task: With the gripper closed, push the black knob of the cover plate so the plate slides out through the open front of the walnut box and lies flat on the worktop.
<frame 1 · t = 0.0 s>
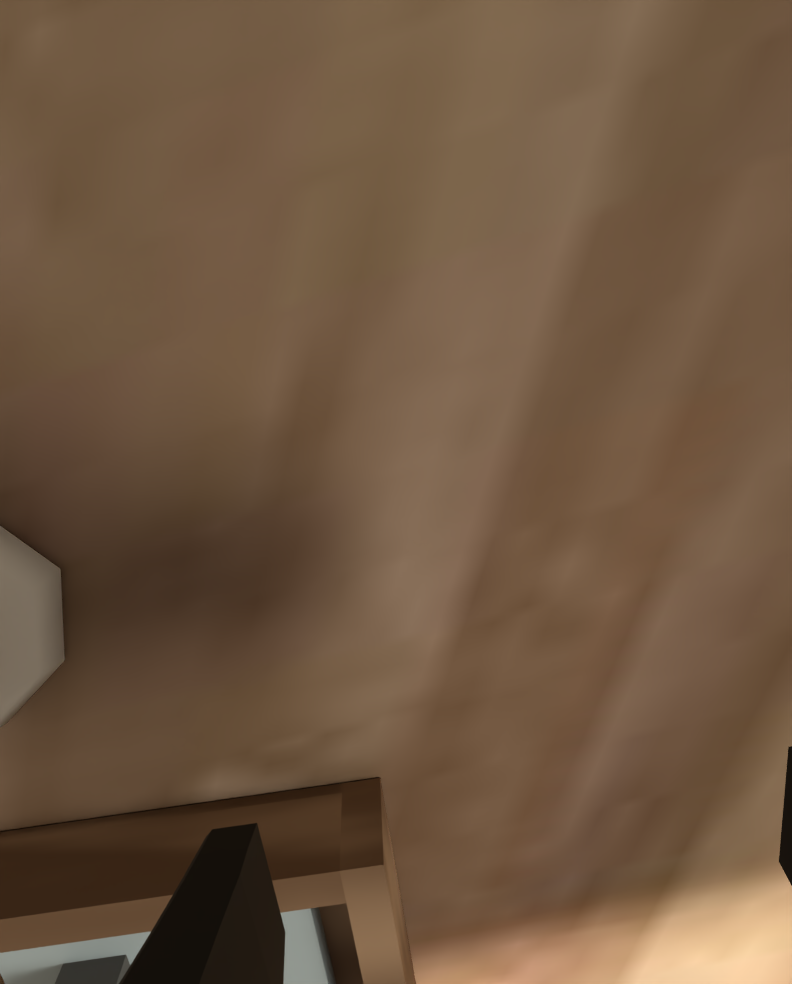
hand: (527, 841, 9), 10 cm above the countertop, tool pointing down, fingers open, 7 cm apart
box: (197, 949, 23), on the countertop
cover plate: (180, 962, 23), resting on box
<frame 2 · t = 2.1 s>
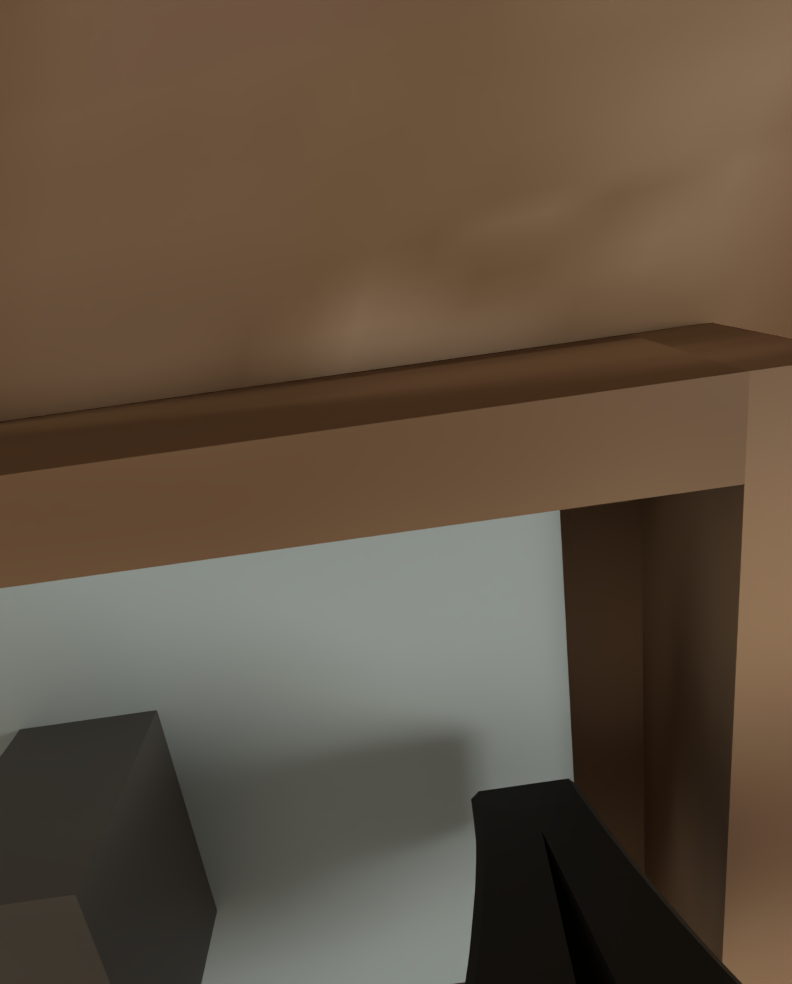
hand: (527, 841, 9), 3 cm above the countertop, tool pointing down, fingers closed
box: (293, 741, 12), on the countertop
cover plate: (261, 761, 11), resting on box
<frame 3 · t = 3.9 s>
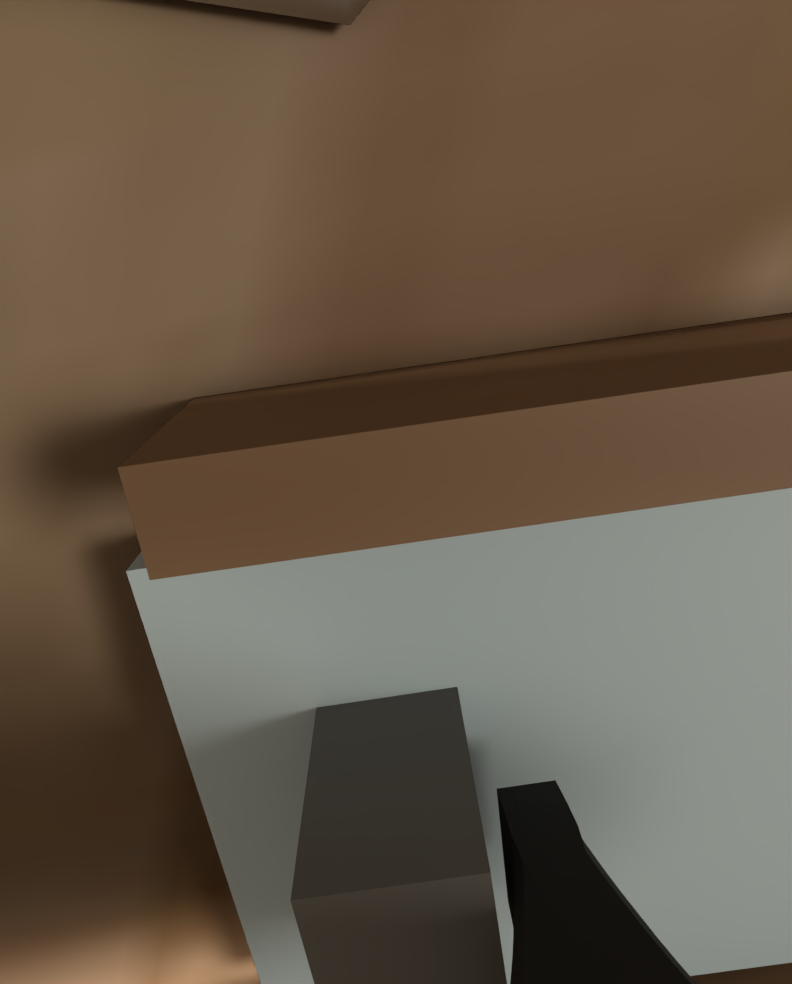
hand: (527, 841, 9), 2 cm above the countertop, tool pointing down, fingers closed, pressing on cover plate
box: (629, 704, 12), on the countertop
cover plate: (526, 742, 11), point 1 cm above the countertop, touching box, gripper
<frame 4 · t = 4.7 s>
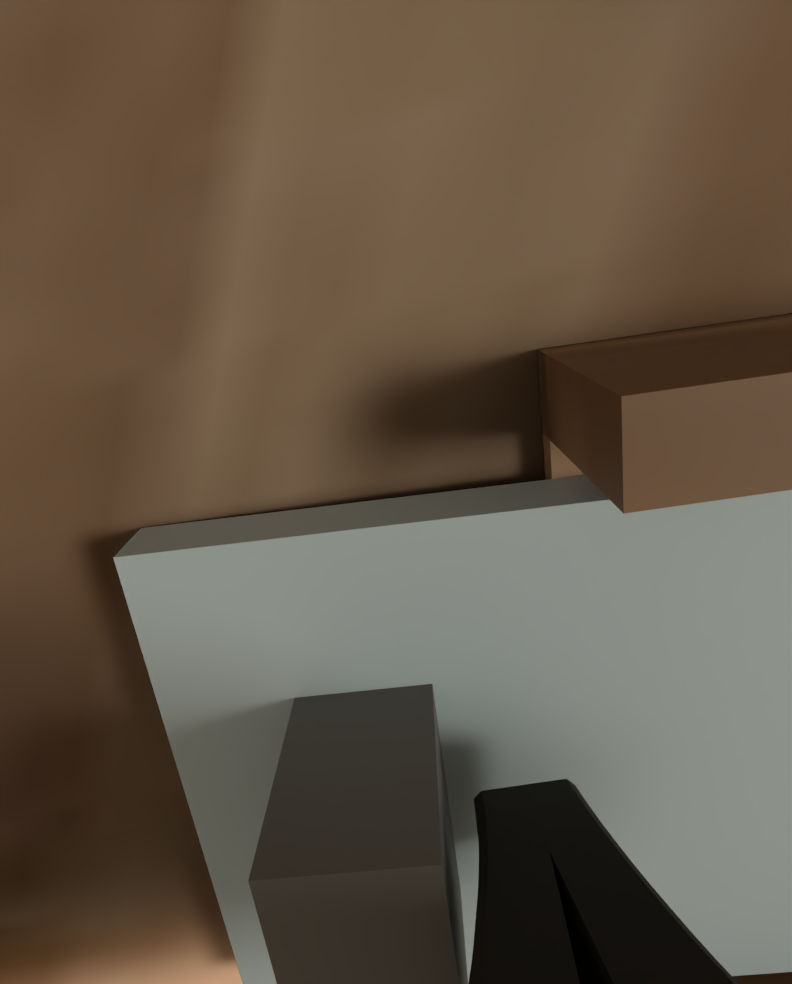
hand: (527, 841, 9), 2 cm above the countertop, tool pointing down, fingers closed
cover plate: (504, 742, 11), on the countertop, touching gripper
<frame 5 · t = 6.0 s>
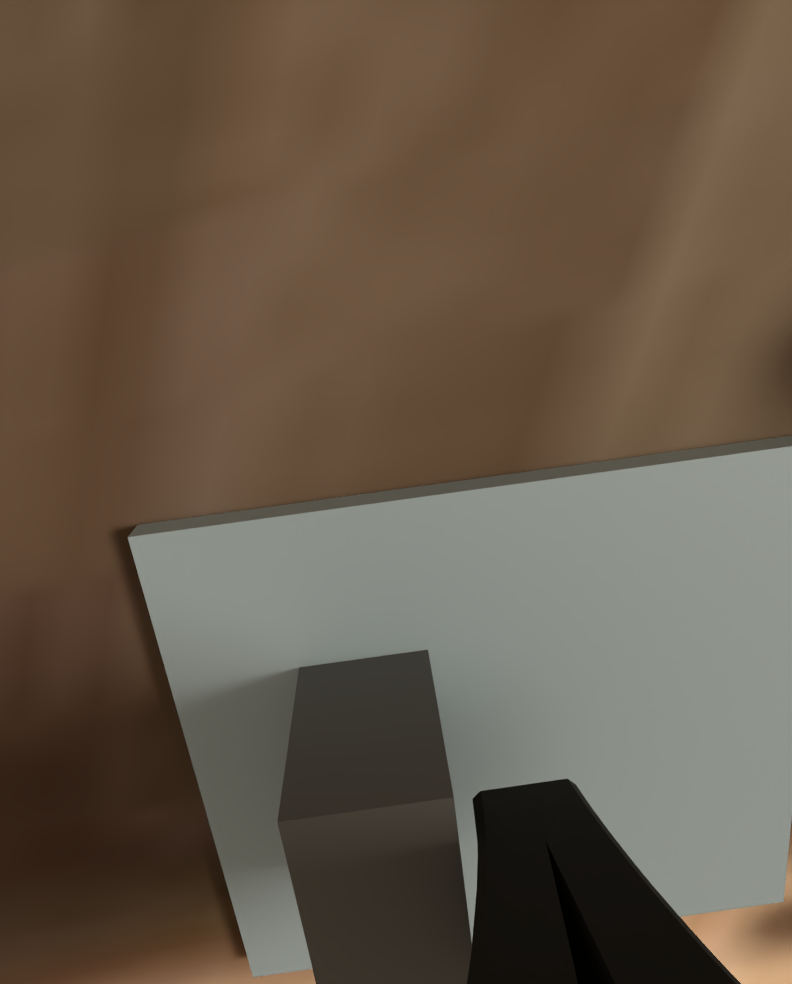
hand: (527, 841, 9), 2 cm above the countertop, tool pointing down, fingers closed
cover plate: (490, 706, 12), on the countertop
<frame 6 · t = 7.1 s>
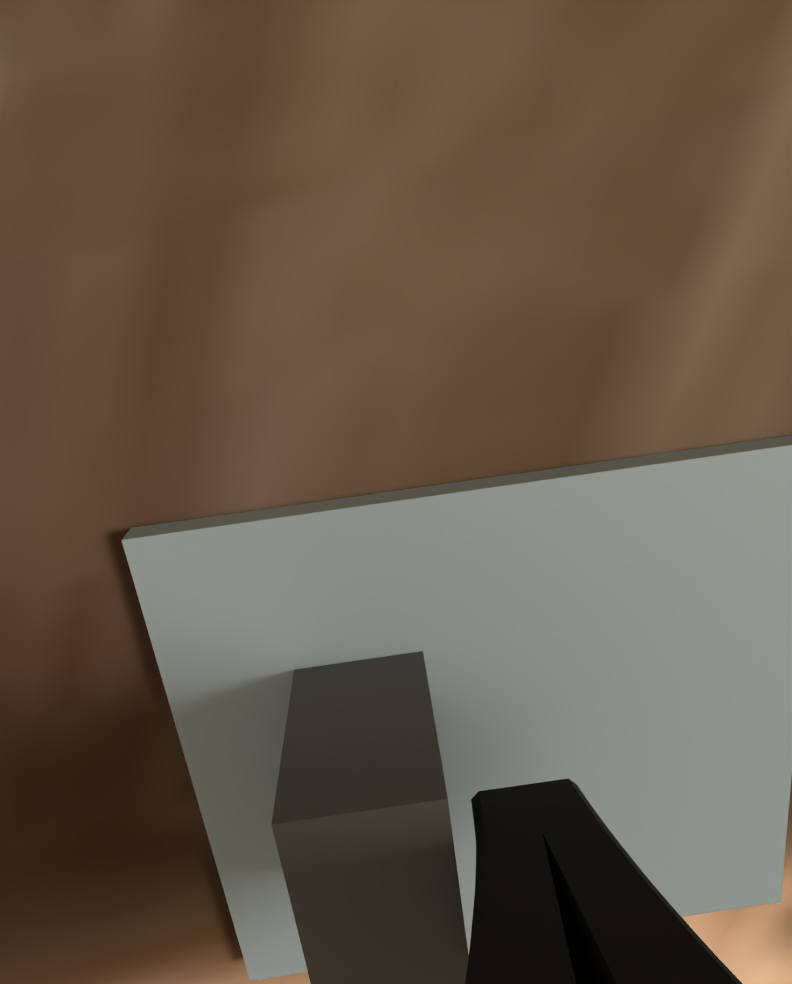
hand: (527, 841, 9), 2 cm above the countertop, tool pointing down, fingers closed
cover plate: (486, 707, 12), on the countertop
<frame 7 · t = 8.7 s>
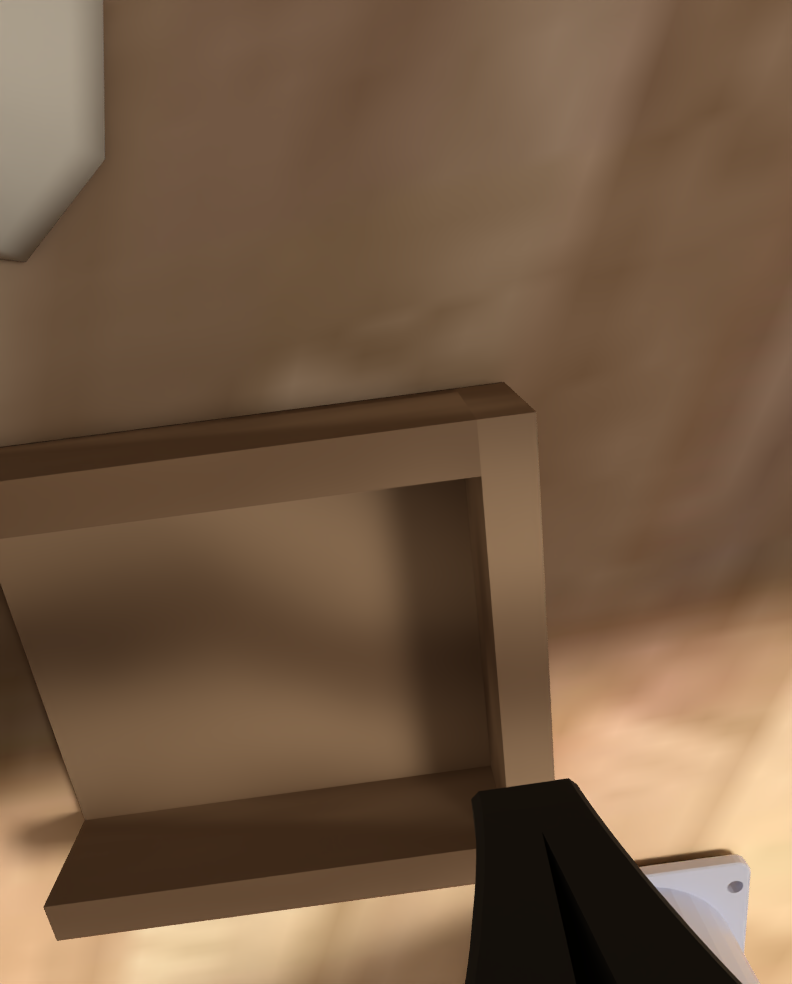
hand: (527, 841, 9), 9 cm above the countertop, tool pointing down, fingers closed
box: (258, 639, 19), on the countertop
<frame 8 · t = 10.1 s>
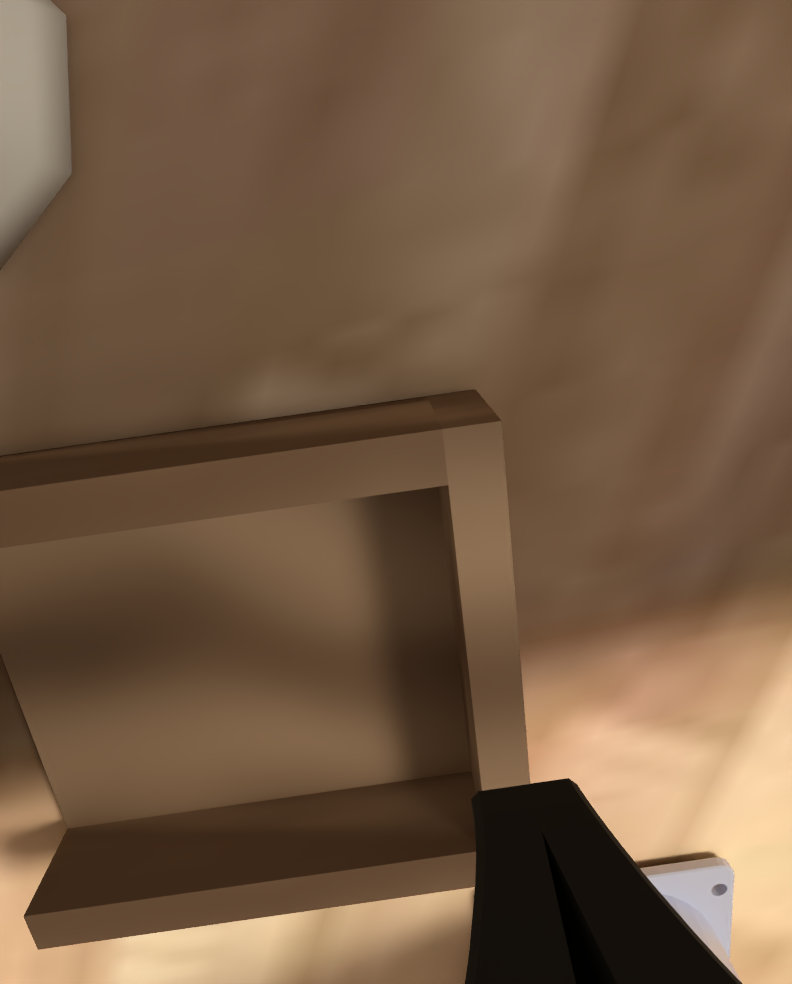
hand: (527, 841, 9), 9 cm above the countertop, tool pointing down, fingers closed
box: (236, 647, 19), on the countertop
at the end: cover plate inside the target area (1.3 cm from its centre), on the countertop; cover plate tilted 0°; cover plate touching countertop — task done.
